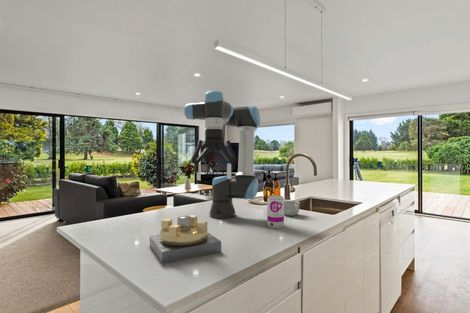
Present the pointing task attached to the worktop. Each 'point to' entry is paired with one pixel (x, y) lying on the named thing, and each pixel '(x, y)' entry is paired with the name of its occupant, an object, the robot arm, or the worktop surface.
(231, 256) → the worktop surface
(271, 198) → the supplement can
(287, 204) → the teacup
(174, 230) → the ring nut
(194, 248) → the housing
